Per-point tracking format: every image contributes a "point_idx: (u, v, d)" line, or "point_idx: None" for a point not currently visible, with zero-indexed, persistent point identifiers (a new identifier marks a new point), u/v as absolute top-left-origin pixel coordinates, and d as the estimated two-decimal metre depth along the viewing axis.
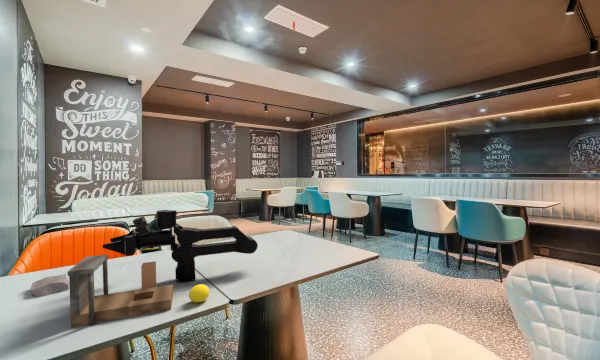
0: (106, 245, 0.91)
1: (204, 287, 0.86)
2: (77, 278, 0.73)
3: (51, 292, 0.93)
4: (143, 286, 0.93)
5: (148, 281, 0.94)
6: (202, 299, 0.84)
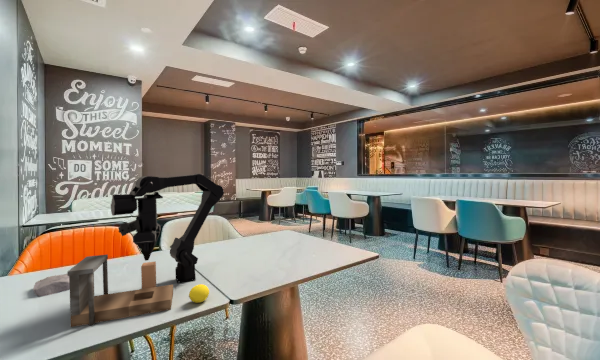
0: (145, 257, 0.91)
1: (204, 287, 0.86)
2: (77, 278, 0.73)
3: (54, 291, 0.93)
4: (143, 286, 0.93)
5: (148, 281, 0.94)
6: (202, 299, 0.84)
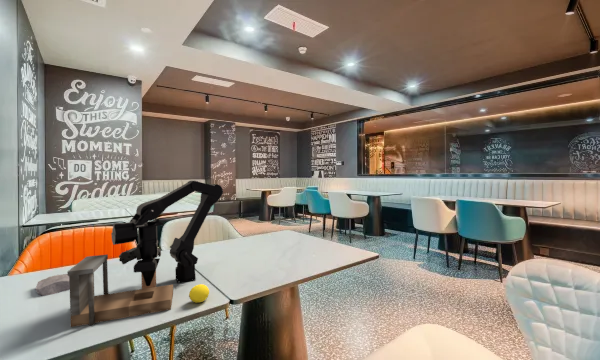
0: (147, 283, 0.93)
1: (204, 287, 0.86)
2: (77, 278, 0.73)
3: (57, 291, 0.94)
4: (143, 286, 0.93)
5: None
6: (202, 299, 0.84)
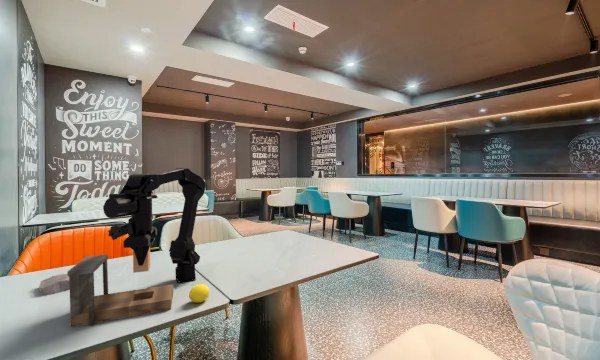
0: (139, 262, 0.83)
1: (204, 287, 0.86)
2: (77, 278, 0.73)
3: (60, 290, 0.94)
4: (135, 266, 0.83)
5: None
6: (202, 299, 0.84)
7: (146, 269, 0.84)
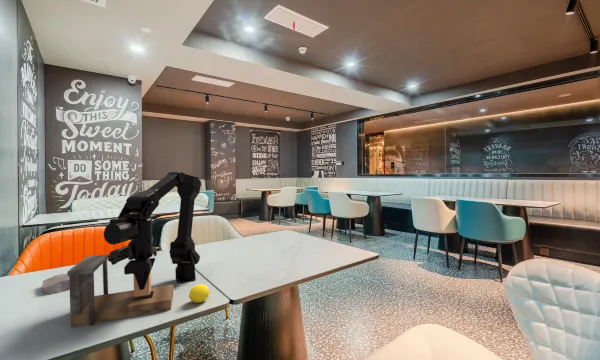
0: (140, 286, 0.81)
1: (204, 287, 0.86)
2: (77, 278, 0.73)
3: (62, 289, 0.95)
4: (135, 290, 0.81)
5: None
6: (202, 299, 0.84)
7: (147, 293, 0.82)
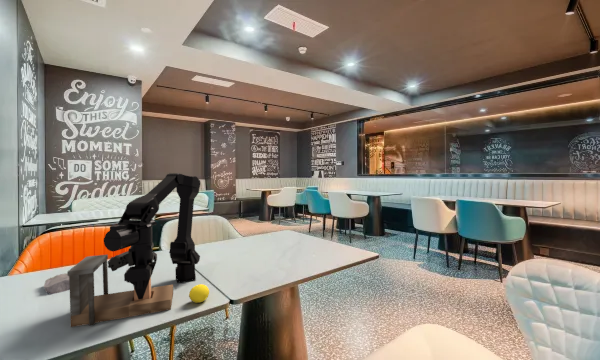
0: (139, 296, 0.79)
1: (204, 287, 0.86)
2: (77, 278, 0.73)
3: (65, 289, 0.95)
4: None
5: None
6: (202, 299, 0.84)
7: None
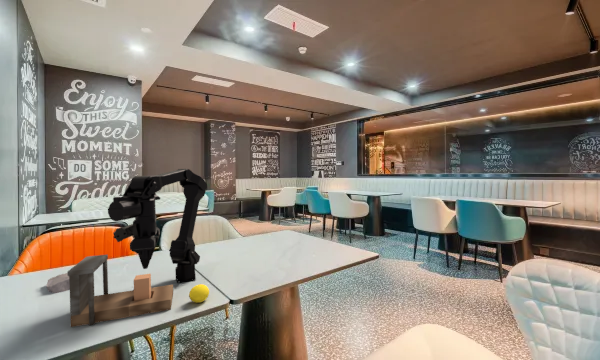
0: (143, 265, 0.82)
1: (204, 287, 0.86)
2: (77, 278, 0.73)
3: (67, 288, 0.96)
4: None
5: (141, 296, 0.82)
6: (202, 299, 0.84)
7: None
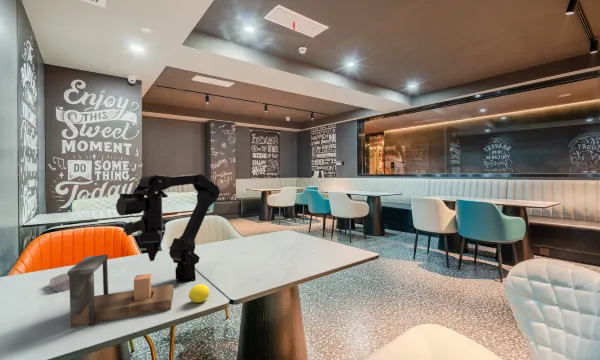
0: (150, 257, 0.89)
1: (204, 287, 0.86)
2: (77, 278, 0.73)
3: None
4: None
5: (141, 296, 0.82)
6: (202, 299, 0.84)
7: None
